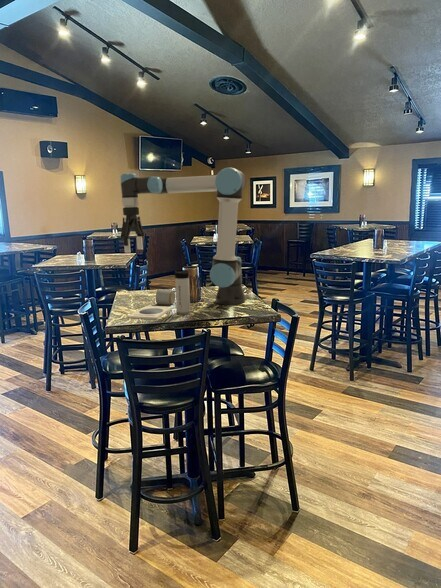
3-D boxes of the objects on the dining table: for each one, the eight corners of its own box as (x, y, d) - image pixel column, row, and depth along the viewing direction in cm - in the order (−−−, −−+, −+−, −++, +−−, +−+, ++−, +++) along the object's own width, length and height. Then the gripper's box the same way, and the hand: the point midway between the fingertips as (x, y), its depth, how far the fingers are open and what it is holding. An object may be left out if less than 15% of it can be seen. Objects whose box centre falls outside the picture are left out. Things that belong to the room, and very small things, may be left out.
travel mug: (185, 310, 205) (184, 268, 201) (192, 313, 200) (191, 270, 196) (174, 312, 202) (172, 270, 198) (180, 315, 197) (178, 271, 193)
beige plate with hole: (173, 308, 211) (173, 306, 210) (157, 319, 192) (156, 317, 192) (146, 307, 214) (146, 305, 214) (127, 317, 195) (127, 315, 195)
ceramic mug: (170, 306, 215) (170, 291, 214) (155, 305, 217) (154, 290, 216) (178, 302, 225) (178, 287, 224) (163, 301, 227) (163, 286, 226)
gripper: (135, 206, 222) (138, 248, 227) (110, 207, 199) (114, 254, 203) (148, 206, 220) (151, 248, 225) (125, 207, 197) (129, 253, 201)
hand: (134, 251), depth 214 cm, fingers open, 13 cm apart
